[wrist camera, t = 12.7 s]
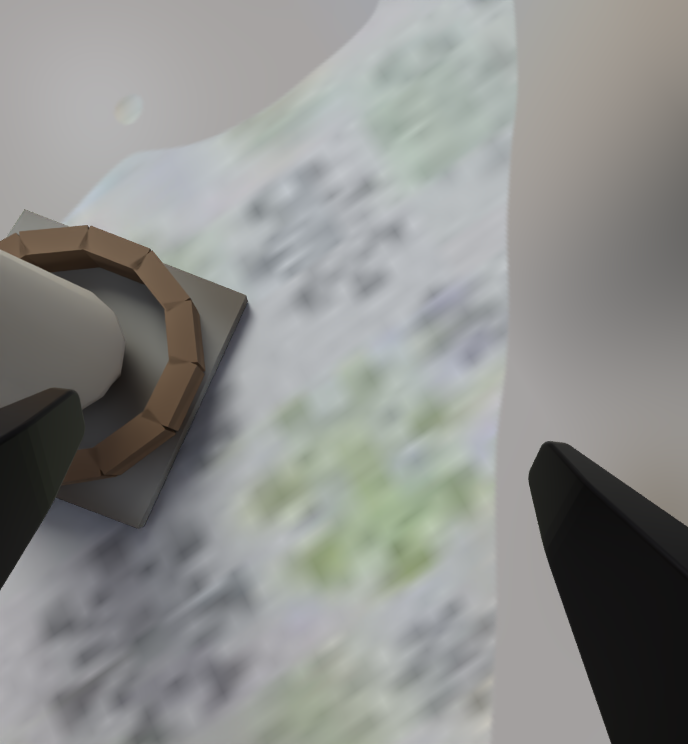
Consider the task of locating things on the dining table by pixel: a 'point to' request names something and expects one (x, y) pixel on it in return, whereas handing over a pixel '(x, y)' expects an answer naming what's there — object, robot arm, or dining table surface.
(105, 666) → the dining table surface
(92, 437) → the stand
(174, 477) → the dining table surface
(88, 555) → the dining table surface
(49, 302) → the salt shaker
